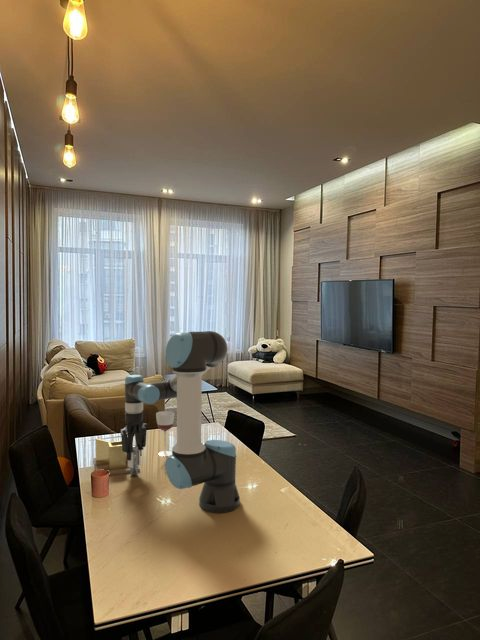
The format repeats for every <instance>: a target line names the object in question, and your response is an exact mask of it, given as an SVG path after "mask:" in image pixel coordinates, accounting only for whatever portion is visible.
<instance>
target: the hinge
mask: <svg viewBox="0 0 480 640" xmlns="http://www.w3.org/2000/svg"><path fill="white" fill-rule="evenodd" d="M95 458H96V461H99V462H103V463H107V464H108V465H109V469H118V468H125V467H126V460H127V453H126V452H123V451H122V440H115V441H108V440H105V439H100V438H95Z"/></svg>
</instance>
